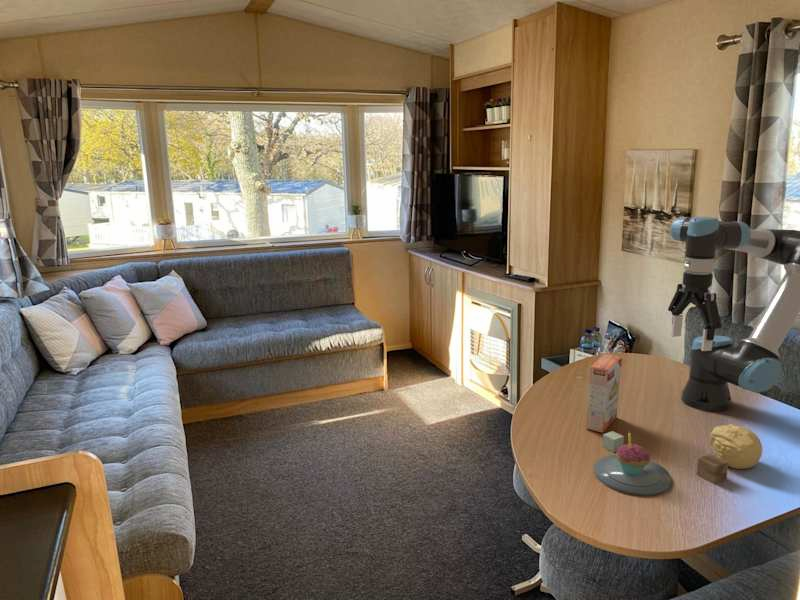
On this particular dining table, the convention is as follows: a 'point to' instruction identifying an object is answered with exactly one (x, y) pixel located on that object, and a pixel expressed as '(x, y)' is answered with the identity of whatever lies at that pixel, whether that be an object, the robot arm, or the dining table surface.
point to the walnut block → (712, 468)
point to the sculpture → (736, 446)
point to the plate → (632, 477)
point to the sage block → (612, 441)
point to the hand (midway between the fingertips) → (690, 343)
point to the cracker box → (603, 393)
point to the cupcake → (632, 457)
